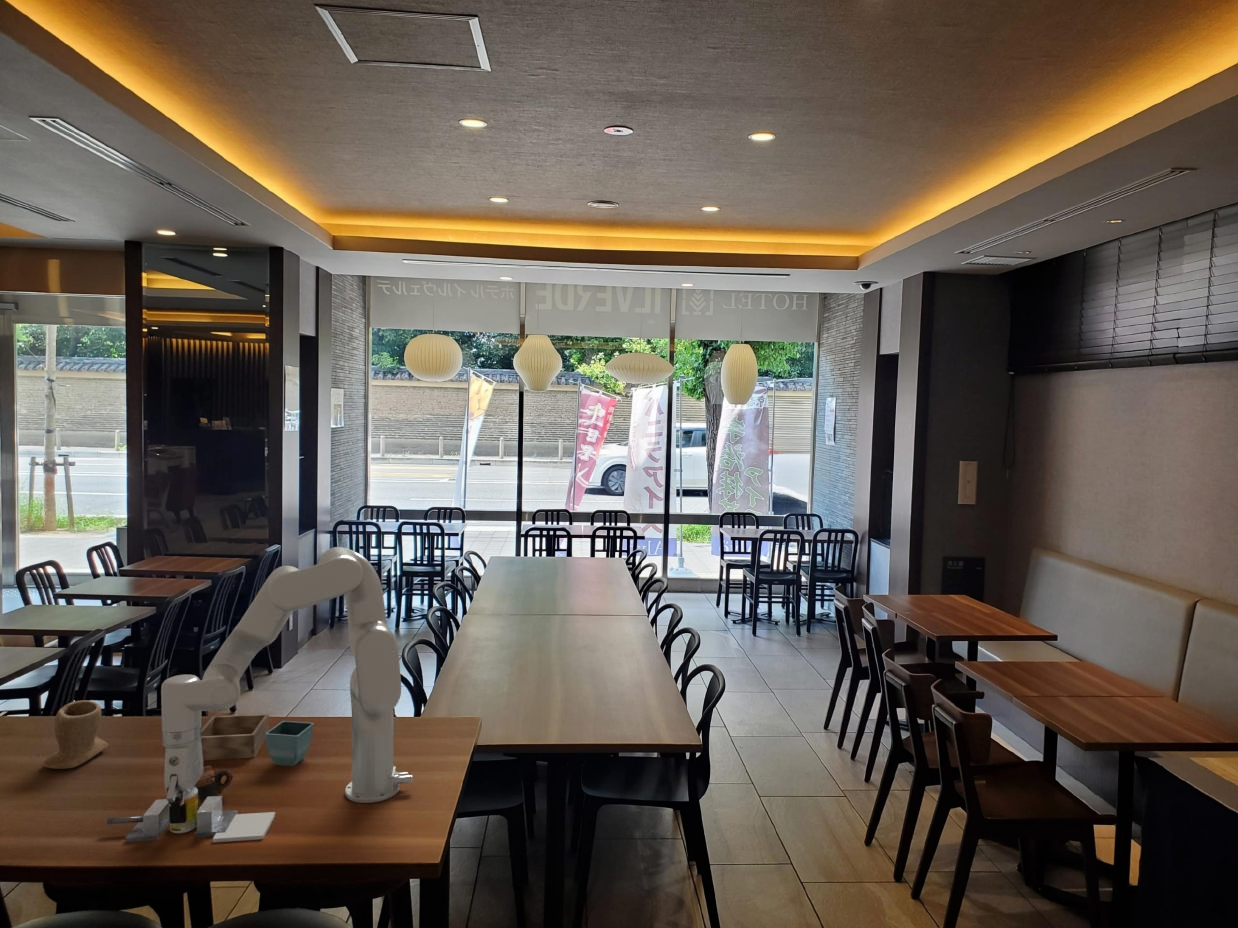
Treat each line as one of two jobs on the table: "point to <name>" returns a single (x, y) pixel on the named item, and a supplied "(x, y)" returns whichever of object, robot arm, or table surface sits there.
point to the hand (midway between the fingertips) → (183, 814)
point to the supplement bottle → (191, 808)
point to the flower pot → (289, 742)
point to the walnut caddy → (234, 736)
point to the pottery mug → (212, 783)
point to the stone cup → (76, 735)
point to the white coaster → (246, 827)
